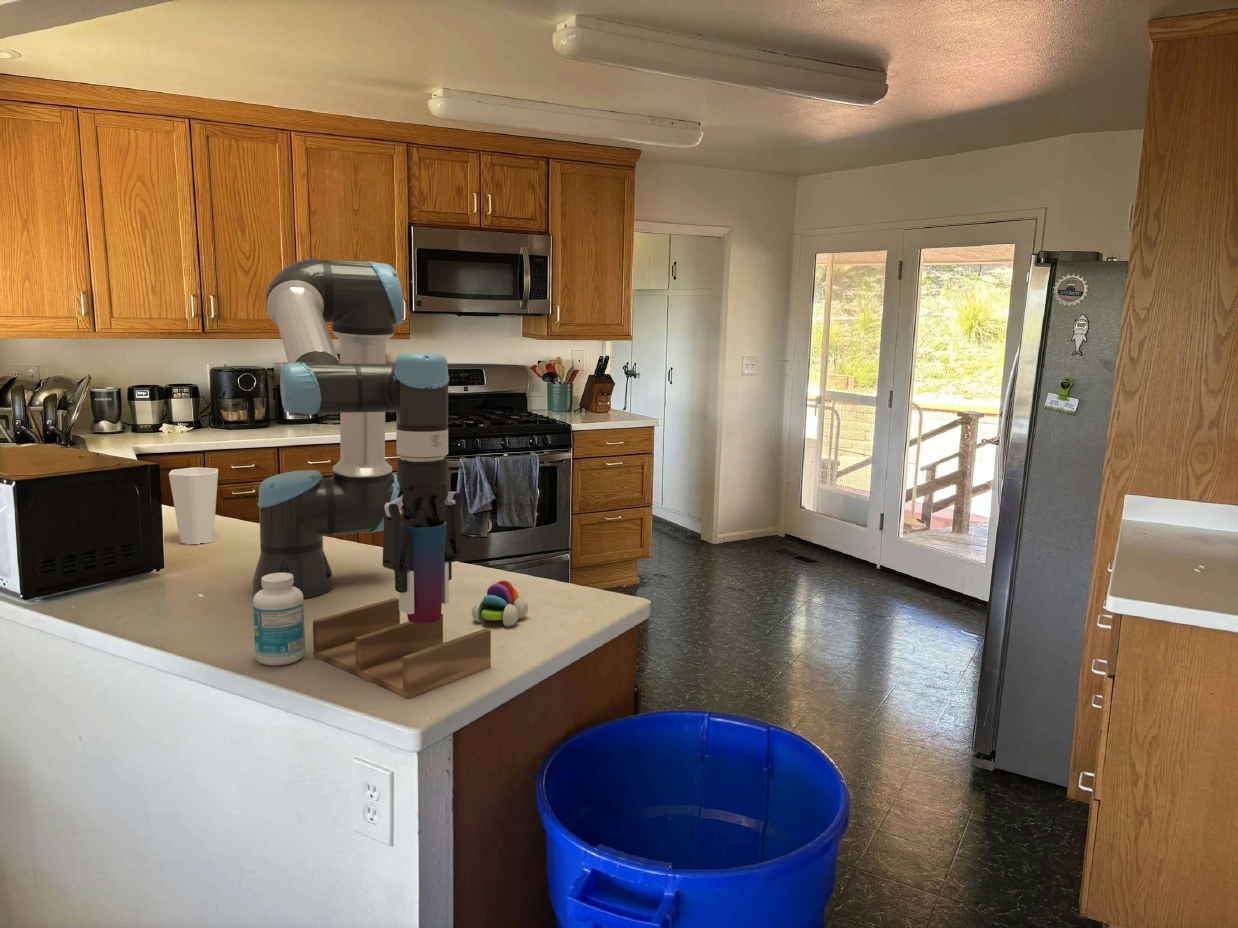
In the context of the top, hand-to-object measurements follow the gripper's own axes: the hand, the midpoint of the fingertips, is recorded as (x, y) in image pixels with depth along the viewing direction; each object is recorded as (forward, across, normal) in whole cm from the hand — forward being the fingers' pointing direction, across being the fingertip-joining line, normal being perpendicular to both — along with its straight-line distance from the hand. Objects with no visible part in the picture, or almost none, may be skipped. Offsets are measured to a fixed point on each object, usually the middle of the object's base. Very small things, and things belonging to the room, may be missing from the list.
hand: (424, 606), depth 133 cm
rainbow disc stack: (+11, +24, +9) cm, 28 cm away
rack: (+10, 0, +6) cm, 12 cm away
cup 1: (+10, +14, +102) cm, 103 cm away
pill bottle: (+11, -12, +21) cm, 26 cm away
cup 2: (+2, 0, 0) cm, 2 cm away
